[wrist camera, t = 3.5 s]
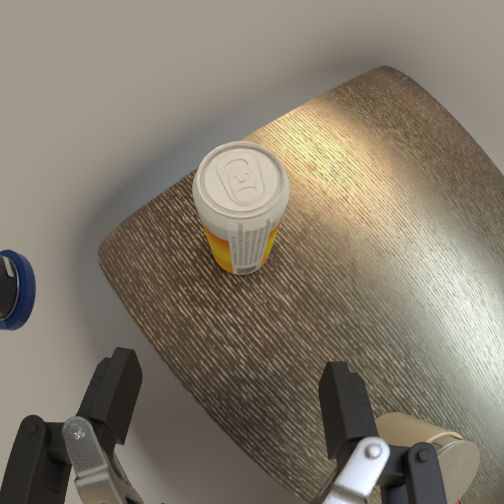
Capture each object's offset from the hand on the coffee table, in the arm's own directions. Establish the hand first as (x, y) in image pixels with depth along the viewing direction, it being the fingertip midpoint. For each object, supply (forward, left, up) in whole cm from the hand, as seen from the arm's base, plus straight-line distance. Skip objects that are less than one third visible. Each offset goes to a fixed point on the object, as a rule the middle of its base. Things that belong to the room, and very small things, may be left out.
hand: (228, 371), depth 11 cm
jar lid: (+9, -20, -6) cm, 23 cm away
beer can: (+5, +9, -18) cm, 21 cm away
